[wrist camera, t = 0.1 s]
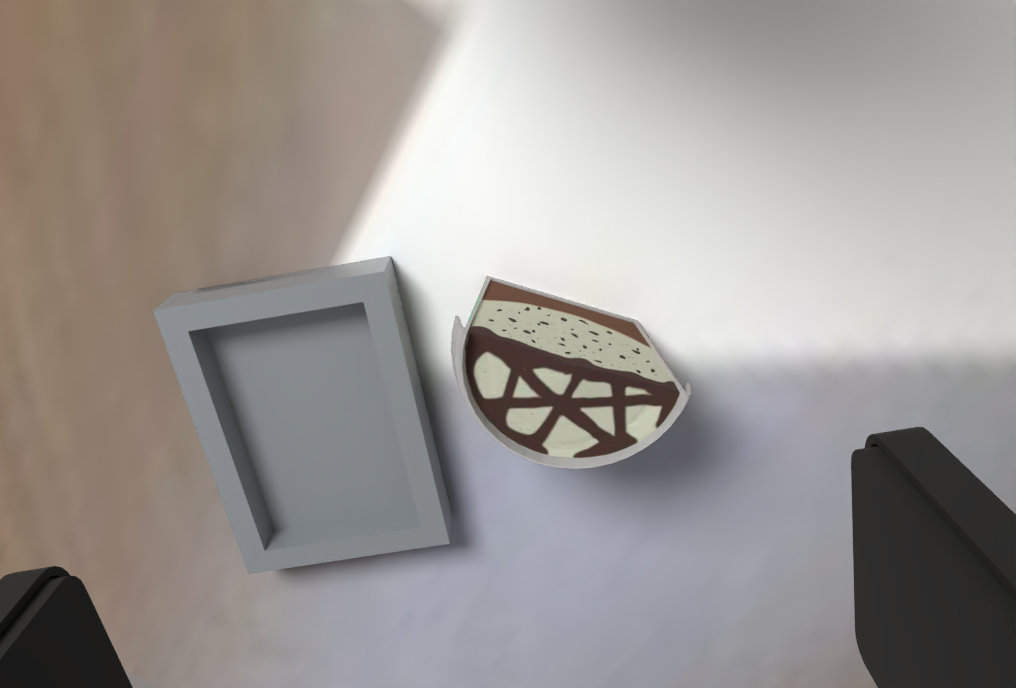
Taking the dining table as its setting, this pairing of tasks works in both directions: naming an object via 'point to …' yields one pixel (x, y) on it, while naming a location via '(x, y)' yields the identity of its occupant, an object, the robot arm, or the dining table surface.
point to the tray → (310, 414)
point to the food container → (562, 378)
